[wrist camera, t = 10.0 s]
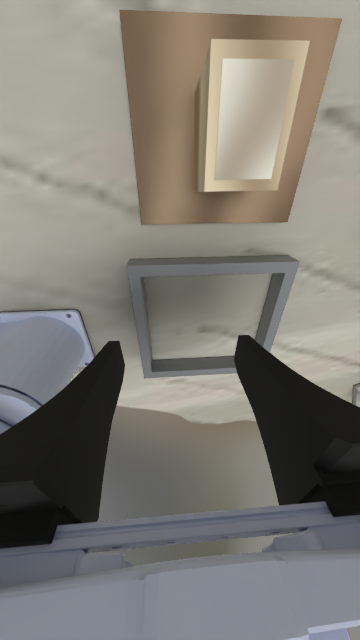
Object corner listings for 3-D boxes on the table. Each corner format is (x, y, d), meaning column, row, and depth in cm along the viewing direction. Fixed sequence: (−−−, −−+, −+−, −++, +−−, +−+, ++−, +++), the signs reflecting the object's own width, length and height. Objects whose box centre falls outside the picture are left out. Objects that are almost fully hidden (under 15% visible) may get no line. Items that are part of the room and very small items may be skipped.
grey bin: (145, 366, 26) (144, 378, 24) (130, 259, 18) (126, 265, 16) (257, 360, 26) (263, 371, 25) (287, 255, 19) (299, 261, 17)
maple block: (193, 191, 15) (204, 191, 10) (195, 92, 12) (211, 38, 8) (245, 190, 15) (278, 190, 11) (259, 93, 12) (310, 39, 8)
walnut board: (142, 222, 16) (141, 224, 16) (123, 23, 11) (119, 9, 10) (281, 220, 17) (287, 222, 16) (329, 31, 11) (341, 18, 11)
